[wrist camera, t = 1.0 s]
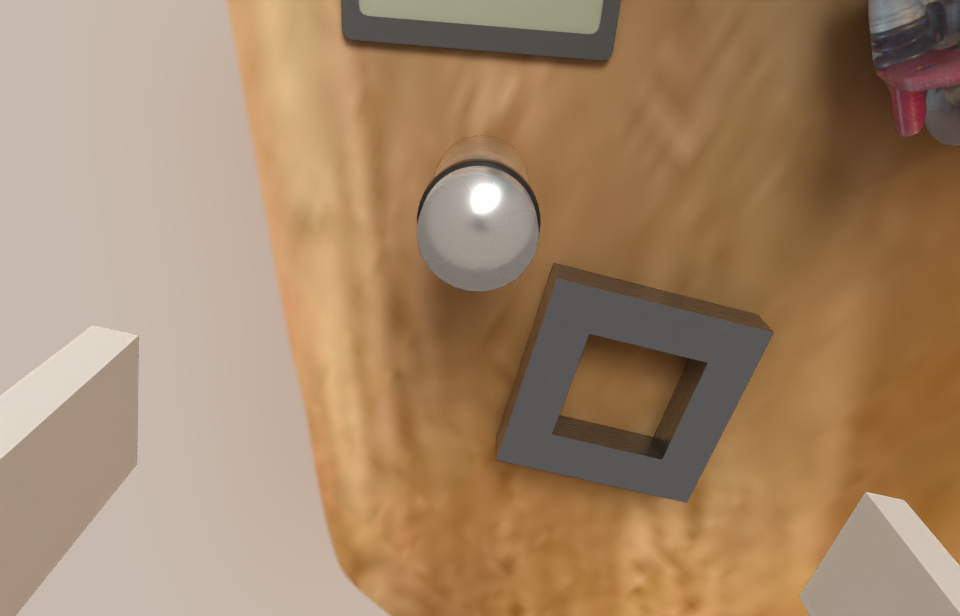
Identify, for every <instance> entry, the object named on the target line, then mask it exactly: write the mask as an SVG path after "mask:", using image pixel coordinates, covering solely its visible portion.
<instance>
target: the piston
mask: <svg viewBox="0 0 960 616" xmlns="http://www.w3.org/2000/svg"><path fill="white" fill-rule="evenodd" d="M539 232H540V212H539V207H538V203H537V200H536V197H535V194H534V192H533V190H532V188H531V187H530V183H529V178H528V174H527V169H526V166H525V164H524V162H523V159H522V158H521V156H520V155H519V153H518V152H517V151H516V150H515V149H514V148H513V147H512V146H511V145H509V144H508V143H506V142H505V141H503V140H501V139H498V138H495V137H491V136H483V135H481V136H472V137H468V138H465V139H463V140H461V141H459V142H457V143H456V144H454V145H453V146H452V147H451V148H450V149H448V151H447V152H446V153H445V154H444V156H443V157H442V159H441V161H440V163H439V165H438V168H437V171H436V173H435V176H434V178H433V180H432V181H431V182H430V183H429V185H428V186H427V188H426V190H425V192H424V194H423V196H422V199H421V201H420V205H419V208H418V214H417V241H418V246H419V250H420V252H421V255H422V257H423V259H424V261H425V263H426V264H427V265H428V267H429V268H430V269H431V271H432V272H433V273H434V274H435V275H436V276H438V277H439V278H440V279H441V280H443V281H444V282H446V283H448V284H450V285H452V286H454V287H456V288H460V289H463V290H468V291H488V290H494V289H497V288H500V287H503V286H505V285H507V284H509V283H510V282H512V281H514V280H515V279H516V278H518V277H519V276H520V275H521V274H522V273H523V272H524V271H525V270H526V268H527V267H528V266H529V264H530V263H531V261H532V259H533V257H534V255H535V252H536V249H537V245H538V238H539Z"/></svg>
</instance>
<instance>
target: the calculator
mask: <svg viewBox="0 0 960 616" xmlns="http://www.w3.org/2000/svg"><path fill="white" fill-rule="evenodd" d="M620 1H621V0H342V29H343V34H344V35H345V36H346V38H348V39H352V40H360V41H372V42H384V43H396V44H408V45H420V46H432V47H445V48H457V49H469V50H481V51H493V52H505V53H517V54H529V55H542V56H554V57H566V58H578V59H590V60H607V59H608V58H609V57H610V56H611V55H612V52H613V48H614V41H615V35H616V28H617V21H618V15H619V8H620Z"/></svg>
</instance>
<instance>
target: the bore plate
mask: <svg viewBox="0 0 960 616" xmlns="http://www.w3.org/2000/svg"><path fill="white" fill-rule="evenodd" d="M773 333H774V332H773V331H772V330H771V329H770V328H769V327H768V326H767V324H766V323H765V322H764V321H763V320H762V319H761V318H760V316H759V315H756V314H752V313H748V312H744V311H740V310H736V309H732V308H728V307H724V306H721V305H717V304H713V303H709V302H705V301H701V300H697V299H693V298H689V297H685V296H681V295H677V294H673V293H669V292H665V291H661V290H657V289H654V288H650V287H646V286H642V285H638V284H634V283H630V282H626V281H622V280H618V279H614V278H610V277H606V276H602V275H598V274H594V273H590V272H587V271H583V270H579V269H575V268H571V267H567V266H563V265H559V264H555V263H554V264H553V267H552V270H551V273H550V276H549V279H548V282H547V285H546V288H545V291H544V294H543V297H542V300H541V303H540V306H539V309H538V313H537V316H536V319H535V322H534V325H533V328H532V331H531V334H530V337H529V340H528V343H527V346H526V349H525V352H524V355H523V358H522V361H521V364H520V367H519V370H518V373H517V376H516V379H515V382H514V385H513V388H512V391H511V395H510V398H509V401H508V404H507V407H506V410H505V413H504V416H503V419H502V422H501V425H500V428H499V431H498V434H497V437H496V460H499V461H503V462H508V463H512V464H517V465H521V466H526V467H530V468H535V469H539V470H543V471H548V472H552V473H557V474H561V475H566V476H570V477H575V478H579V479H584V480H588V481H592V482H597V483H601V484H606V485H610V486H615V487H619V488H624V489H628V490H633V491H637V492H642V493H646V494H650V495H655V496H659V497H664V498H668V499H673V500H677V501H682V502H686V503H687V501H688V500H689V498H690V496H691V494H692V492H693V490H694V488H695V486H696V484H697V482H698V480H699V478H700V476H701V474H702V472H703V470H704V468H705V466H706V464H707V462H708V460H709V458H710V456H711V454H712V453H713V451H714V449H715V447H716V445H717V443H718V441H719V439H720V437H721V435H722V433H723V431H724V429H725V427H726V425H727V423H728V421H729V419H730V417H731V415H732V413H733V411H734V409H735V408H736V406H737V404H738V402H739V400H740V398H741V396H742V394H743V392H744V390H745V388H746V386H747V384H748V382H749V380H750V378H751V376H752V374H753V372H754V370H755V368H756V366H757V364H758V362H759V361H760V359H761V357H762V355H763V353H764V351H765V349H766V347H767V345H768V343H769V341H770V339H771V337H772V335H773ZM589 334H592V335H596V336H600V337H604V338H609V339H613V340H617V341H621V342H625V343H629V344H633V345H637V346H641V347H645V348H649V349H653V350H658V351H662V352H666V353H670V354H674V355H678V356H682V357H686V358H690V359H689V361H688V363H687V366H686V368H685V370H684V372H683V374H682V377H681V379H680V381H679V383H678V385H677V388H676V390H675V392H674V394H673V396H672V398H671V401H670V403H669V405H668V407H667V409H666V412H665V414H664V416H663V418H662V420H661V423H660V425H659V427H658V429H657V431H656V433H655V436H654V437H650V436H645V435H641V434H637V433H633V432H628V431H624V430H620V429H615V428H611V427H607V426H602V425H598V424H594V423H590V422H585V421H581V420H577V419H572V418H568V417H564V416H559V414H560V411H561V409H562V406H563V403H564V401H565V398H566V395H567V393H568V390H569V387H570V384H571V382H572V379H573V376H574V374H575V371H576V368H577V366H578V363H579V360H580V358H581V355H582V352H583V350H584V347H585V344H586V342H587V339H588V336H589Z"/></svg>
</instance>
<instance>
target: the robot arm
mask: <svg viewBox="0 0 960 616" xmlns="http://www.w3.org/2000/svg"><path fill="white" fill-rule="evenodd" d="M138 358H139V335H134V334H130V333H125V332H121V331H116V330H111V329H107V328H102V327H97V326H93V325H92V326H91V327H89V328H88V329H87V330H85V331H84V332H83V333H81V334H80V335H79V336H78V337H76V338H75V339H74V340H72V341H71V342H70V343H69V344H67V345H66V346H65V347H63V348H62V349H61V350H59V351H58V352H57V353H55V354H54V355H53V356H52V357H50V358H49V359H48V360H46V361H45V362H44V363H43V364H41V365H40V366H38V367H37V368H36V369H34V370H33V371H32V372H31V373H29V374H28V375H27V376H25V377H24V378H23V379H21V380H20V381H19V382H18V383H16V384H15V385H14V386H12V387H11V388H10V389H9V390H7V391H6V392H4V393H3V394H2V395H1V396H0V616H16V614H17V613H18V612H19V611H20V610H21V608H22V607H23V606H24V604H25V603H26V602H27V601H28V600H29V598H30V597H31V596H32V595H33V593H34V592H35V591H36V590H37V588H38V587H39V586H40V585H41V583H42V582H43V581H44V580H45V578H46V577H47V576H48V575H49V573H50V572H51V571H52V570H53V568H54V567H55V566H56V565H57V563H58V562H59V561H60V560H61V558H62V557H63V556H64V555H65V553H66V552H67V551H68V550H69V548H70V547H71V546H72V545H73V543H74V542H75V541H76V540H77V538H78V537H79V536H80V534H81V533H82V532H83V531H84V530H85V528H86V527H87V526H88V525H89V523H90V522H91V521H92V520H93V518H94V517H95V516H96V515H97V513H98V512H99V511H100V510H101V509H102V507H103V506H104V505H105V503H106V502H107V501H108V500H109V498H110V497H111V496H112V495H113V493H114V492H115V491H116V490H117V489H118V487H119V486H120V485H121V484H122V482H123V481H124V480H125V479H126V477H127V476H128V475H129V474H130V472H131V471H132V470H133V469H134V467H135V466H136V465H137V434H138V431H137V430H138V429H137V428H138ZM799 597H800V599H801V601H802V602H803V604H804V606H805V608H806V610H807V612H808V614H809V616H960V566H959V565H958V563H957V562H956V561H955V560H954V559H953V557H952V556H951V555H950V554H949V553H948V552H947V550H946V549H945V548H944V547H943V546H942V544H941V543H940V542H939V541H938V540H937V538H936V537H935V536H934V535H933V534H932V533H931V531H930V530H929V529H928V528H927V527H926V525H925V524H924V523H923V522H922V521H921V519H920V518H919V517H918V516H917V515H916V514H915V512H914V511H913V510H912V509H911V508H910V506H909V505H908V504H907V503H906V502H905V500H901V499H897V498H892V497H887V496H883V495H878V494H873V493H869V492H865V494H864V495H863V497H862V498H861V500H860V502H859V503H858V505H857V506H856V508H855V509H854V511H853V513H852V514H851V516H850V517H849V519H848V520H847V522H846V524H845V525H844V527H843V528H842V530H841V532H840V533H839V535H838V536H837V538H836V539H835V541H834V543H833V544H832V546H831V547H830V549H829V550H828V552H827V554H826V555H825V557H824V558H823V560H822V561H821V563H820V565H819V566H818V568H817V569H816V571H815V572H814V574H813V576H812V577H811V579H810V580H809V582H808V583H807V585H806V587H805V588H804V590H803V591H802V593H801V594H800V596H799Z"/></svg>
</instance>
